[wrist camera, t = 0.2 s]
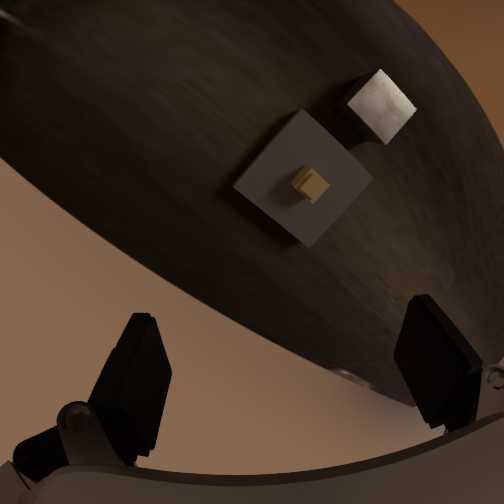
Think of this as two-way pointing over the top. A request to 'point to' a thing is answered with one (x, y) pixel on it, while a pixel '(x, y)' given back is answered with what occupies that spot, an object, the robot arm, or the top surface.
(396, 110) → the grey cube
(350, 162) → the grey block
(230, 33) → the top surface
